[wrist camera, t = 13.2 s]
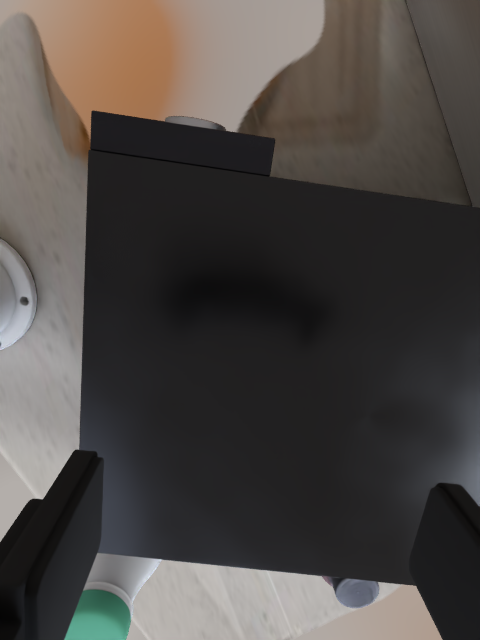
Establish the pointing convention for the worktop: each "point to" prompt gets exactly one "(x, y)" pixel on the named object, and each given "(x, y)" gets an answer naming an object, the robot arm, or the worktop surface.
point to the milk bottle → (109, 597)
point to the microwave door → (455, 75)
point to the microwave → (271, 355)
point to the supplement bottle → (353, 591)
